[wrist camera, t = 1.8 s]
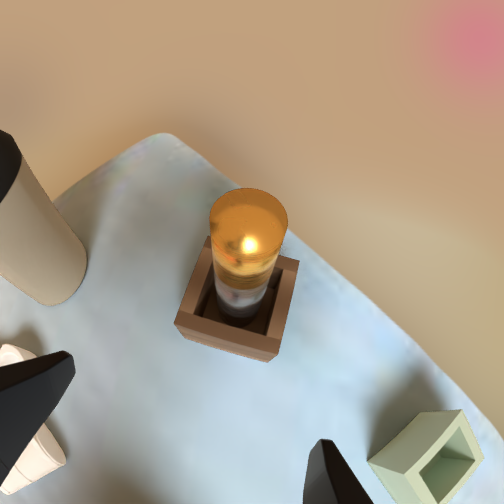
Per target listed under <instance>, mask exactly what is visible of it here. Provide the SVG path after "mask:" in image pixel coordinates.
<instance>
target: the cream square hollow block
mask: <svg viewBox="0 0 504 504" xmlns="http://www.w3.org/2000/svg"><path fill="white" fill-rule="evenodd" d="M483 459H484V456H483V453H482V451H481V449H480V446H479V444H478V442H477V440H476V437H475V435H474V433H473V431H472V429H471V426H470V424H469V422H468V420H467V418H466V416H465V414H464V412H463V410H462V409H460V410H449V411H433V412H420V413H419V414H418V415H417V416H416V417H415V418H414V419H413V420H412V421H411V422H410V423H409V424H408V425H407V426H406V427H405V428H404V429H403V430H402V431H401V432H400V433H399V434H398V435H397V436H396V437H395V438H394V439H392V440H391V441H390V442H389V443H388V444H387V445H386V446H385V447H384V448H382V449H381V450H380V451H379V452H378V453H377V454H375V455H374V456H373V457H372V458H371V459H369V460H368V461H367V463H368V464H369V466H370V467H371V469H372V470H373V471H374V473H375V474H376V476H377V477H378V479H379V480H380V481H381V483H382V484H383V486H384V487H385V488H386V490H387V491H388V493H389V494H390V495H391V497H392V498H393V500H394V501H395V502H396V503H397V504H447V503H448V502H449V501H450V500H451V499H452V497H453V496H454V495H455V494H456V493H457V492H458V491H459V490H460V488H461V487H462V486H463V485H464V484H465V482H466V481H467V480H468V479H469V477H470V476H471V475H472V474H473V472H474V471H475V470H476V468H477V467H478V466H479V464H480V463H481V462H482V460H483Z"/></svg>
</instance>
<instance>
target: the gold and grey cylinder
mask: <svg viewBox="0 0 504 504" xmlns="http://www.w3.org/2000/svg"><path fill="white" fill-rule="evenodd" d="M209 218H210V233H211V244H212V256H213V266H214V276H215V286H216V296H217V305H218V312H219V316H220V318H221V319H222V321H223V322H224V323H226V324H227V325H229V326H232V327H236V328H241V327H245V326H247V325H249V324H251V323H252V322H253V321H254V319H255V318H256V316H257V313H258V310H259V307H260V305H261V302H262V299H263V296H264V294H265V291H266V288H267V285H268V282H269V279H270V277H271V274H272V271H273V268H274V265H275V262H276V259H277V257H278V254H279V251H280V248H281V245H282V242H283V239H284V236H285V233H286V230H287V226H288V219H287V214H286V211H285V209H284V207H283V206H282V205H281V203H280V202H279V201H278V200H277V199H276V198H275V197H273V196H272V195H270V194H269V193H266V192H264V191H261V190H258V189H252V188H241V189H236V190H232V191H230V192H228V193H225V194H224V195H222V196H221V197H220V198H219V199H218V200H217V201H216V202H215V203H214V205H213V207H212V209H211V212H210V217H209Z"/></svg>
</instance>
